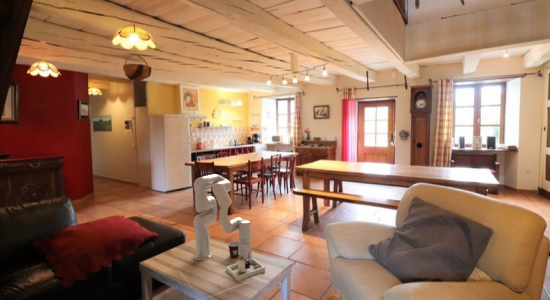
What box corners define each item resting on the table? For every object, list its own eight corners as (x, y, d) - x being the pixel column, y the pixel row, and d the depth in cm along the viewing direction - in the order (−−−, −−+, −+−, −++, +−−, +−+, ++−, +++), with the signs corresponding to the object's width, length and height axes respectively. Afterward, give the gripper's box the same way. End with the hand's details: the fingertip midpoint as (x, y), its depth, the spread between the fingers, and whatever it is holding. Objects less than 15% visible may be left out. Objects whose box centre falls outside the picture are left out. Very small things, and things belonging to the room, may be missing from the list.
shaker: (236, 269, 181) (236, 256, 180) (244, 267, 184) (243, 254, 183) (240, 273, 177) (240, 259, 176) (248, 270, 180) (247, 257, 179)
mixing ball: (253, 270, 183) (252, 265, 182) (257, 269, 185) (257, 263, 184) (255, 273, 180) (255, 267, 179) (260, 271, 182) (260, 266, 181)
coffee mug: (226, 259, 198) (226, 245, 197) (231, 253, 206) (231, 240, 205) (242, 261, 195) (242, 247, 194) (246, 255, 203) (246, 242, 202)
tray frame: (226, 271, 182) (226, 266, 182) (253, 261, 194) (253, 257, 193) (237, 281, 170) (237, 277, 170) (265, 271, 182) (264, 267, 181)
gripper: (233, 236, 184) (234, 263, 186) (246, 246, 171) (246, 274, 173) (243, 233, 189) (244, 259, 191) (256, 242, 175) (257, 270, 177)
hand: (245, 266), depth 182 cm, fingers closed on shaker, 4 cm apart
